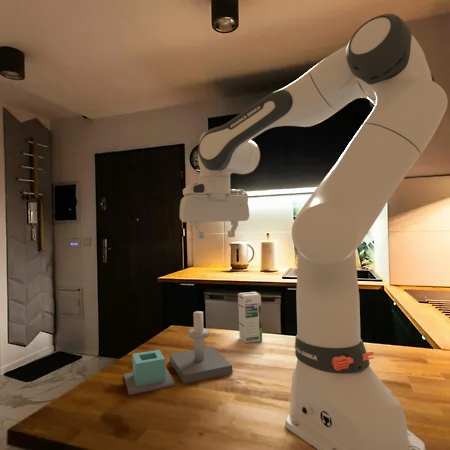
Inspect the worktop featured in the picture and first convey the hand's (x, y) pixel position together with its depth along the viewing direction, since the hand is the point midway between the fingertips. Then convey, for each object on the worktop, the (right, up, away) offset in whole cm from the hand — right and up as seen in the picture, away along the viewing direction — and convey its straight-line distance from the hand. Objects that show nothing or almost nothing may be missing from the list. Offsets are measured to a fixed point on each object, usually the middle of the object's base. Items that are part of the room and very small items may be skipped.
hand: (216, 237), depth 93 cm
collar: (-15, -32, -17) cm, 39 cm away
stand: (-4, -32, -10) cm, 34 cm away
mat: (-15, -32, -17) cm, 40 cm away
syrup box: (+10, -32, +10) cm, 36 cm away
